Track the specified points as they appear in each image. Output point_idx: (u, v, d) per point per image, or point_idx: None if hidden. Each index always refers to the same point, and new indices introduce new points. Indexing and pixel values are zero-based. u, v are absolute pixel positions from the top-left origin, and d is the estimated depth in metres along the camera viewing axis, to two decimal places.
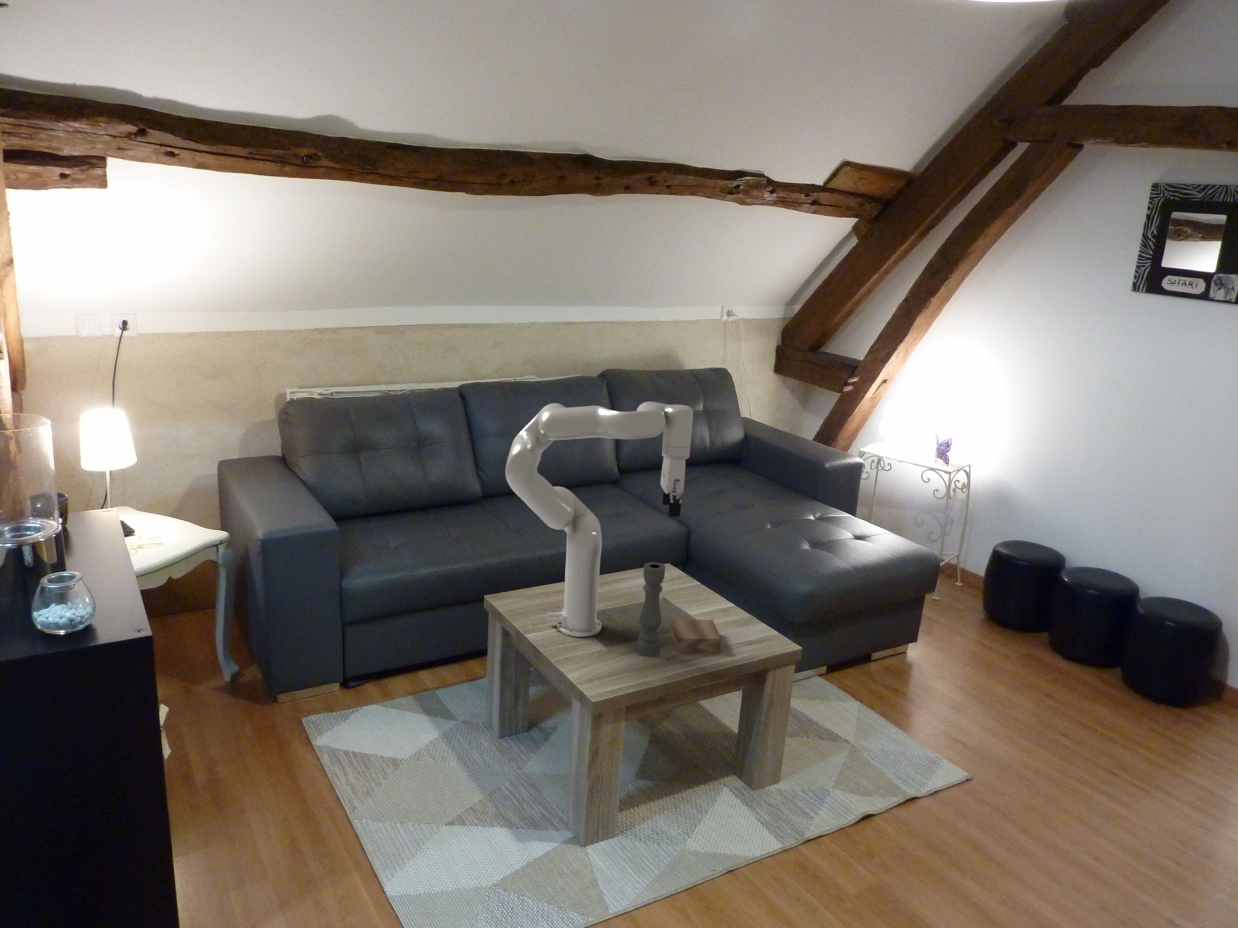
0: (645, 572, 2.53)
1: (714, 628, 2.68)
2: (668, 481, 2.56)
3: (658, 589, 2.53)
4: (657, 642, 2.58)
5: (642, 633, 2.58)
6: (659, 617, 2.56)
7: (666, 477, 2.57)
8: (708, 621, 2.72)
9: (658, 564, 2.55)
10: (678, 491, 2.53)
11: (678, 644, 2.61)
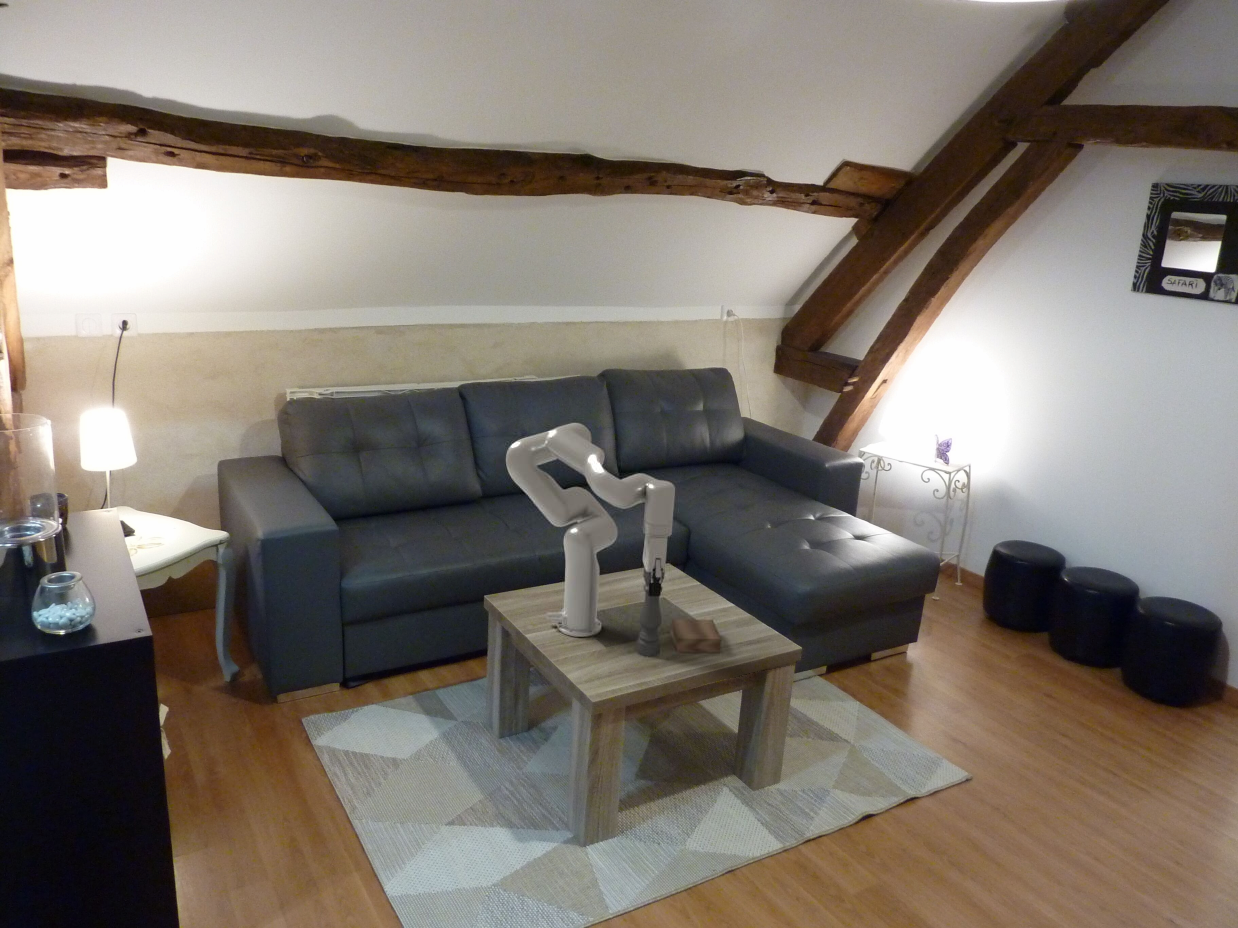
0: (645, 572, 2.53)
1: (714, 628, 2.68)
2: (649, 560, 2.48)
3: None
4: (657, 642, 2.58)
5: (642, 633, 2.58)
6: (659, 617, 2.56)
7: (647, 555, 2.49)
8: (708, 621, 2.72)
9: None
10: (657, 575, 2.46)
11: (678, 644, 2.61)
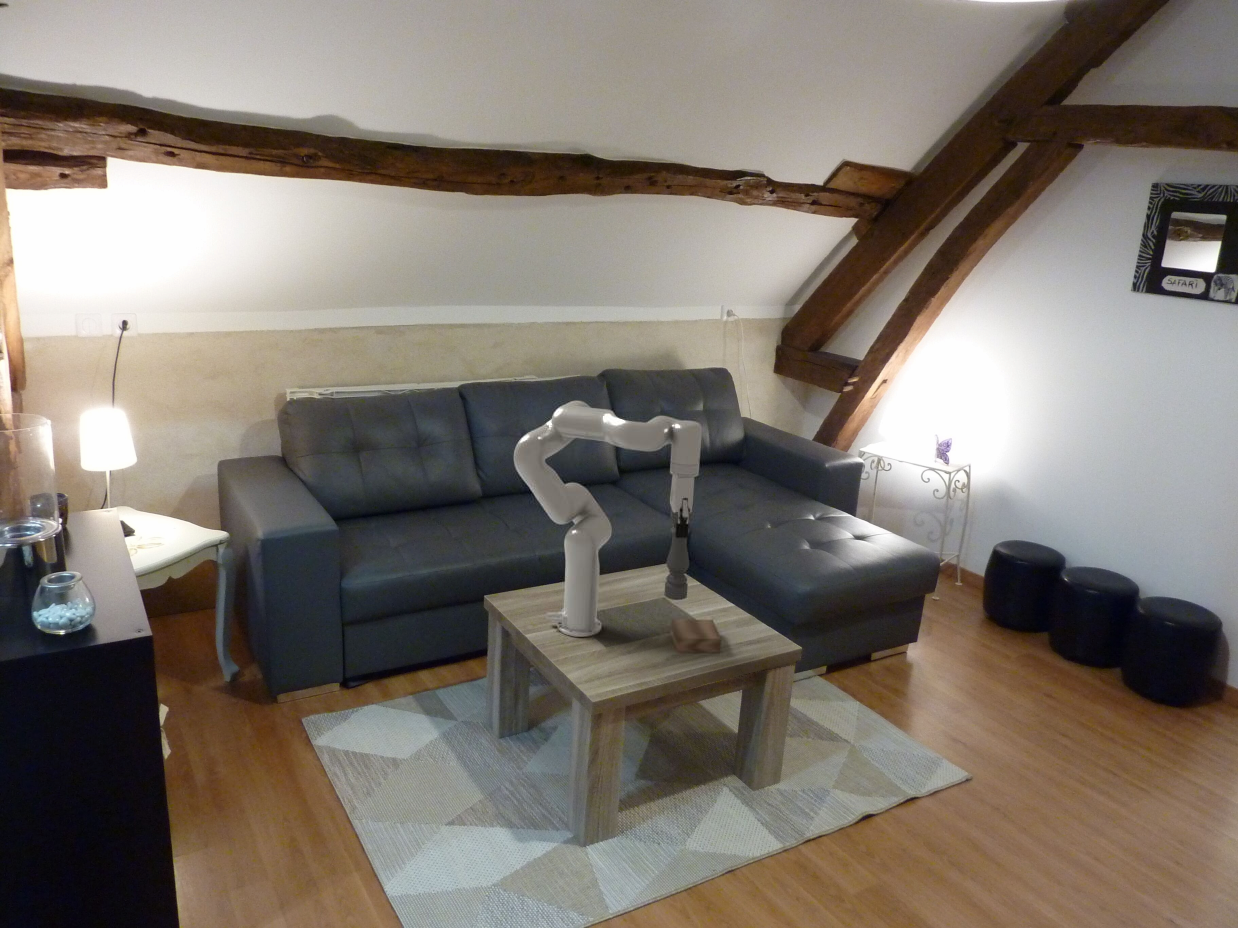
0: (672, 513, 2.51)
1: (714, 628, 2.68)
2: (676, 500, 2.47)
3: None
4: (685, 585, 2.57)
5: (669, 576, 2.57)
6: (686, 560, 2.55)
7: (674, 496, 2.48)
8: (708, 621, 2.72)
9: None
10: (684, 515, 2.45)
11: (678, 644, 2.61)
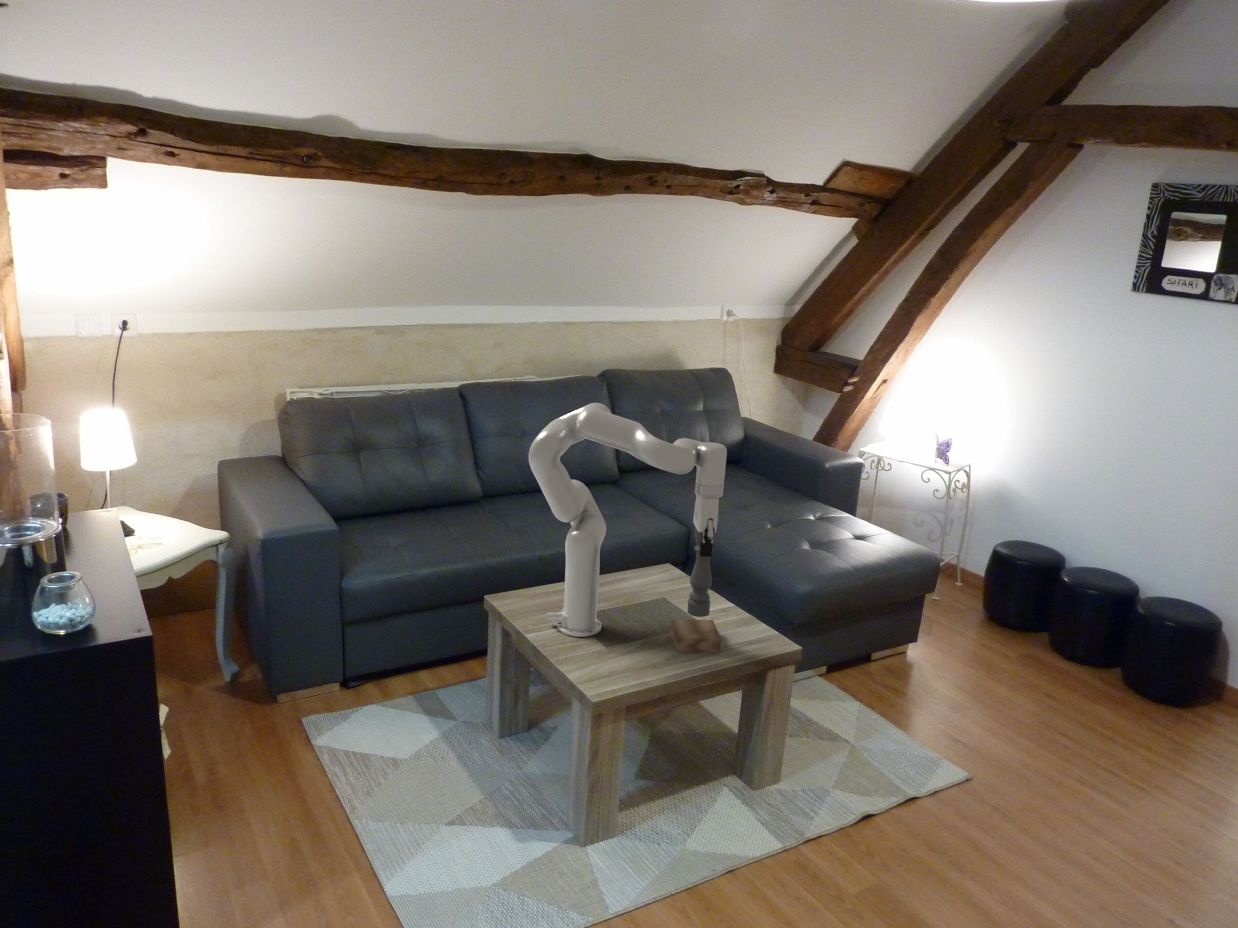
0: (696, 533, 2.57)
1: (714, 628, 2.68)
2: (701, 520, 2.52)
3: None
4: (708, 603, 2.63)
5: (693, 594, 2.62)
6: (710, 577, 2.61)
7: (699, 516, 2.54)
8: (708, 621, 2.72)
9: None
10: (710, 535, 2.51)
11: (678, 644, 2.61)
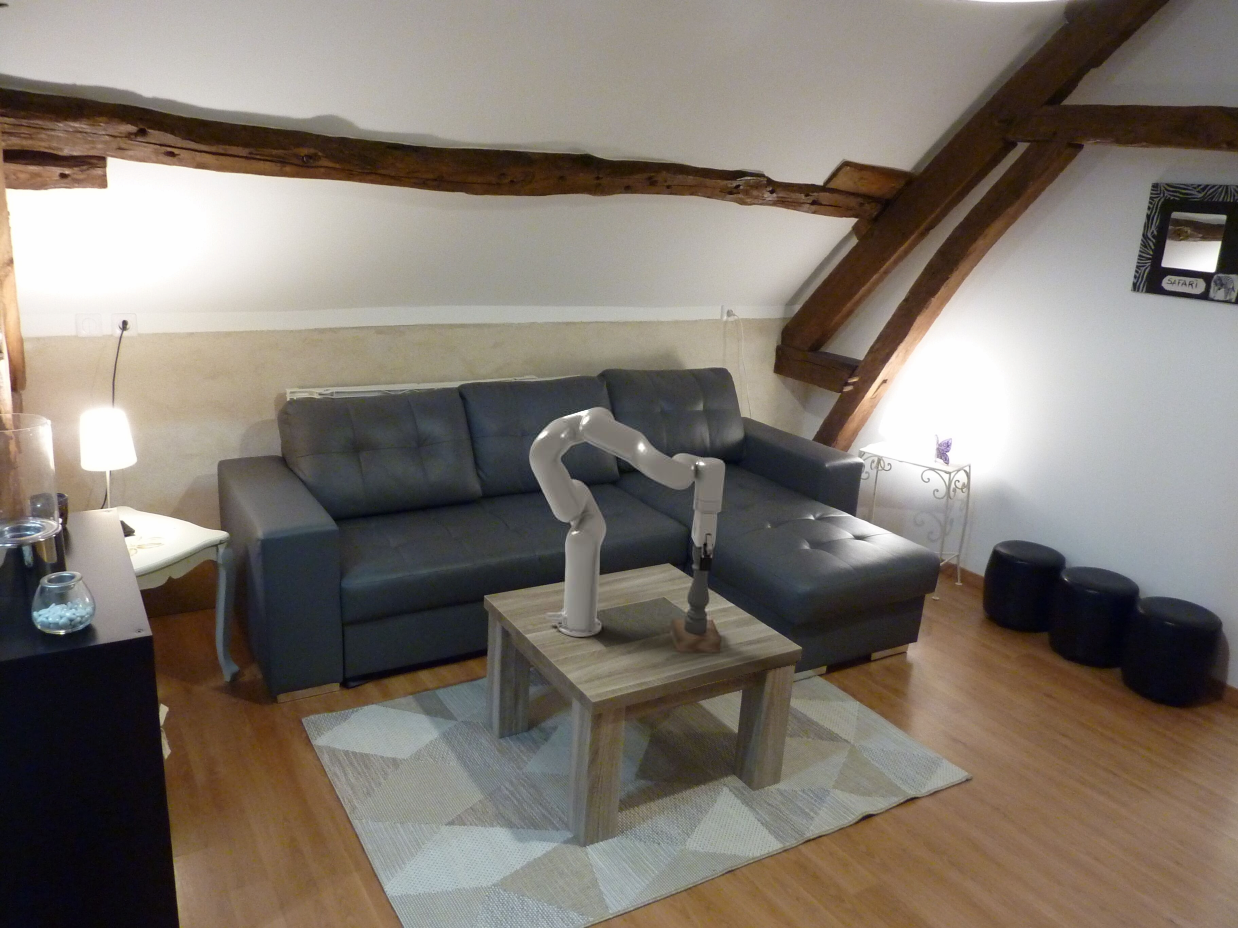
0: (694, 551, 2.58)
1: (714, 628, 2.68)
2: (699, 535, 2.54)
3: None
4: (705, 620, 2.64)
5: (690, 611, 2.64)
6: (707, 596, 2.62)
7: (697, 531, 2.55)
8: (708, 621, 2.72)
9: None
10: (709, 547, 2.51)
11: (678, 644, 2.61)
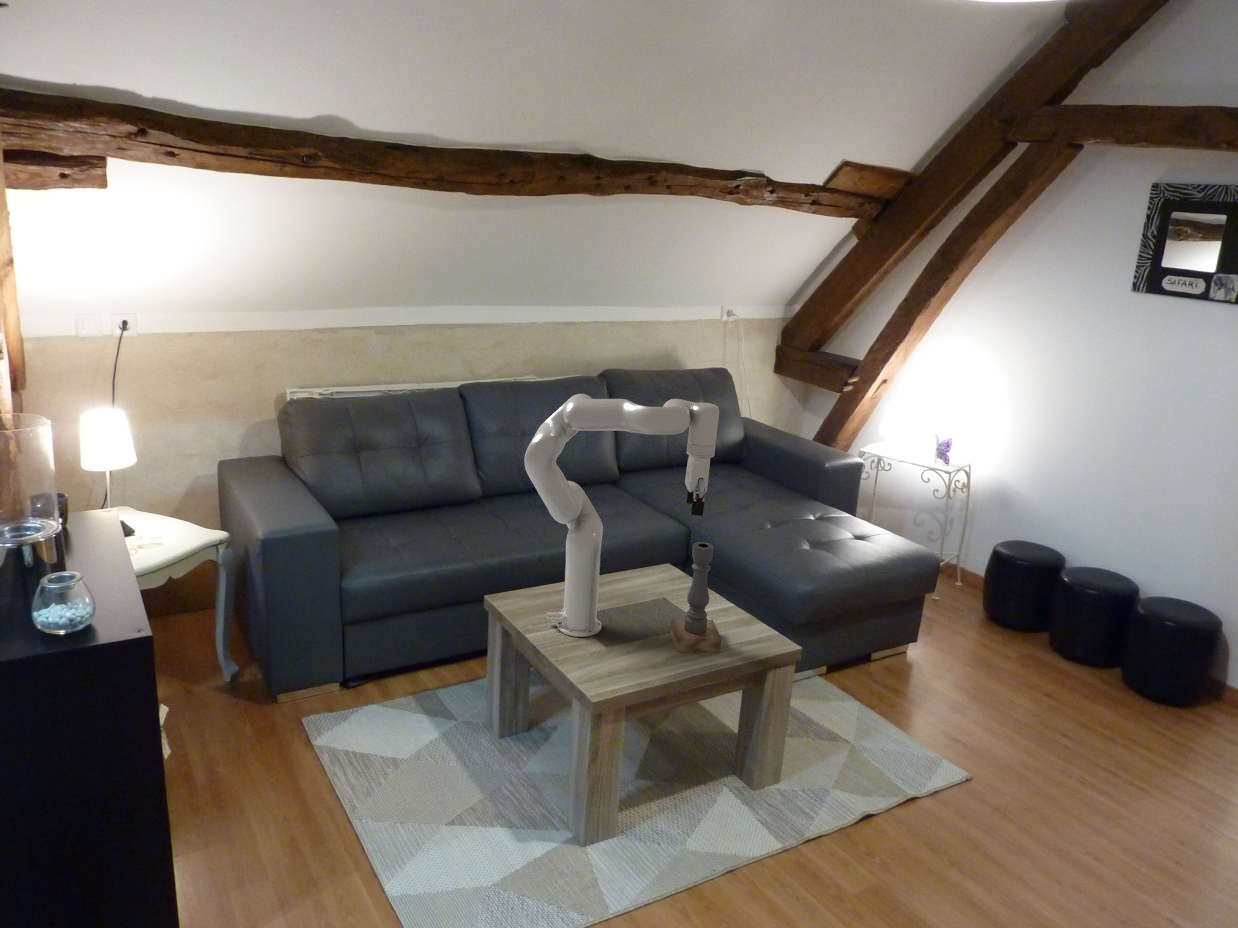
0: (694, 551, 2.58)
1: (714, 628, 2.68)
2: (692, 479, 2.53)
3: (707, 568, 2.59)
4: (705, 620, 2.64)
5: (690, 611, 2.64)
6: (707, 595, 2.62)
7: (690, 475, 2.54)
8: (708, 621, 2.72)
9: (706, 543, 2.61)
10: (701, 489, 2.50)
11: (678, 644, 2.61)
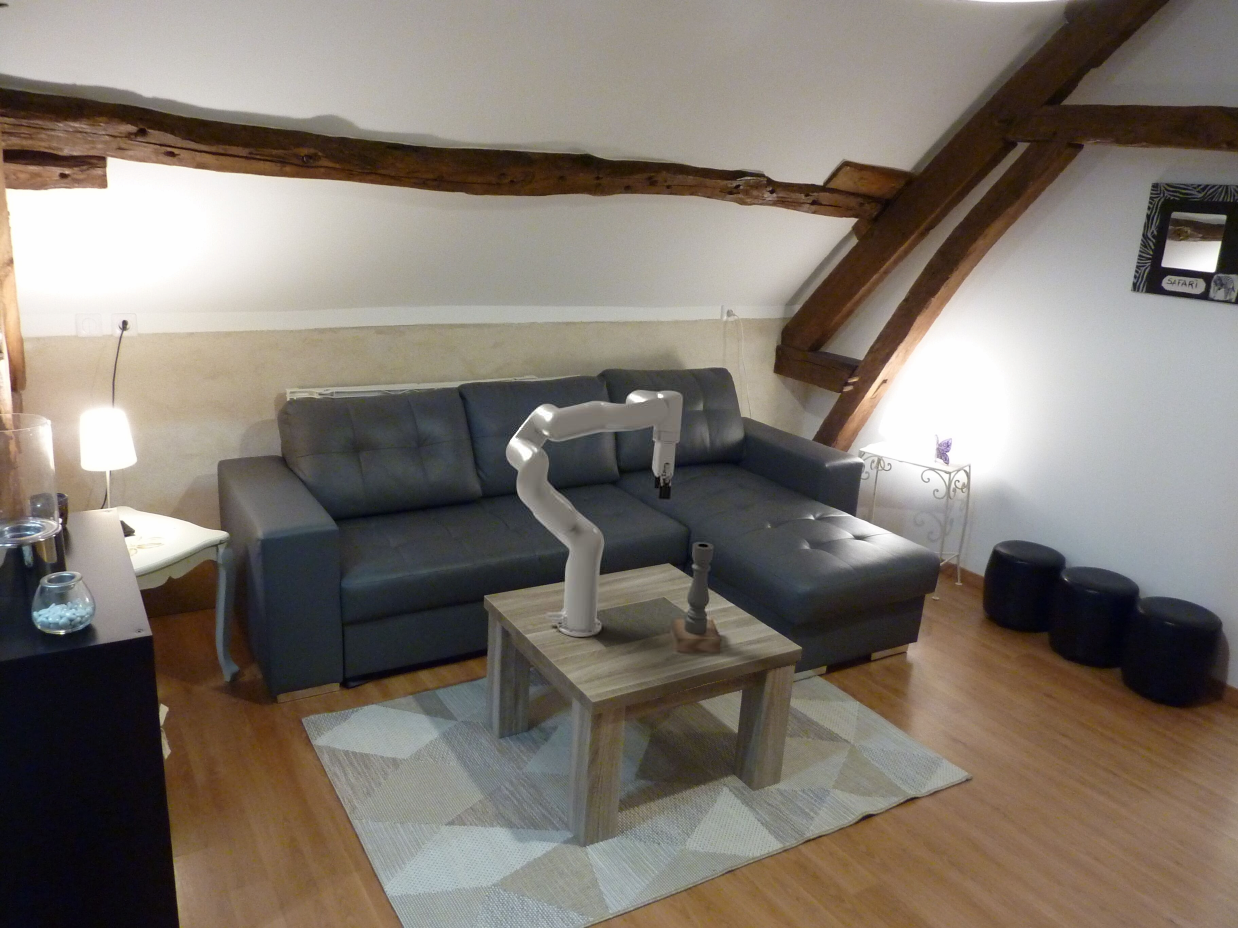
0: (694, 551, 2.58)
1: (714, 628, 2.68)
2: (658, 465, 2.64)
3: (707, 568, 2.59)
4: (705, 620, 2.64)
5: (690, 611, 2.64)
6: (707, 595, 2.62)
7: (656, 461, 2.65)
8: (708, 621, 2.72)
9: (706, 543, 2.61)
10: (667, 474, 2.61)
11: (678, 644, 2.61)
